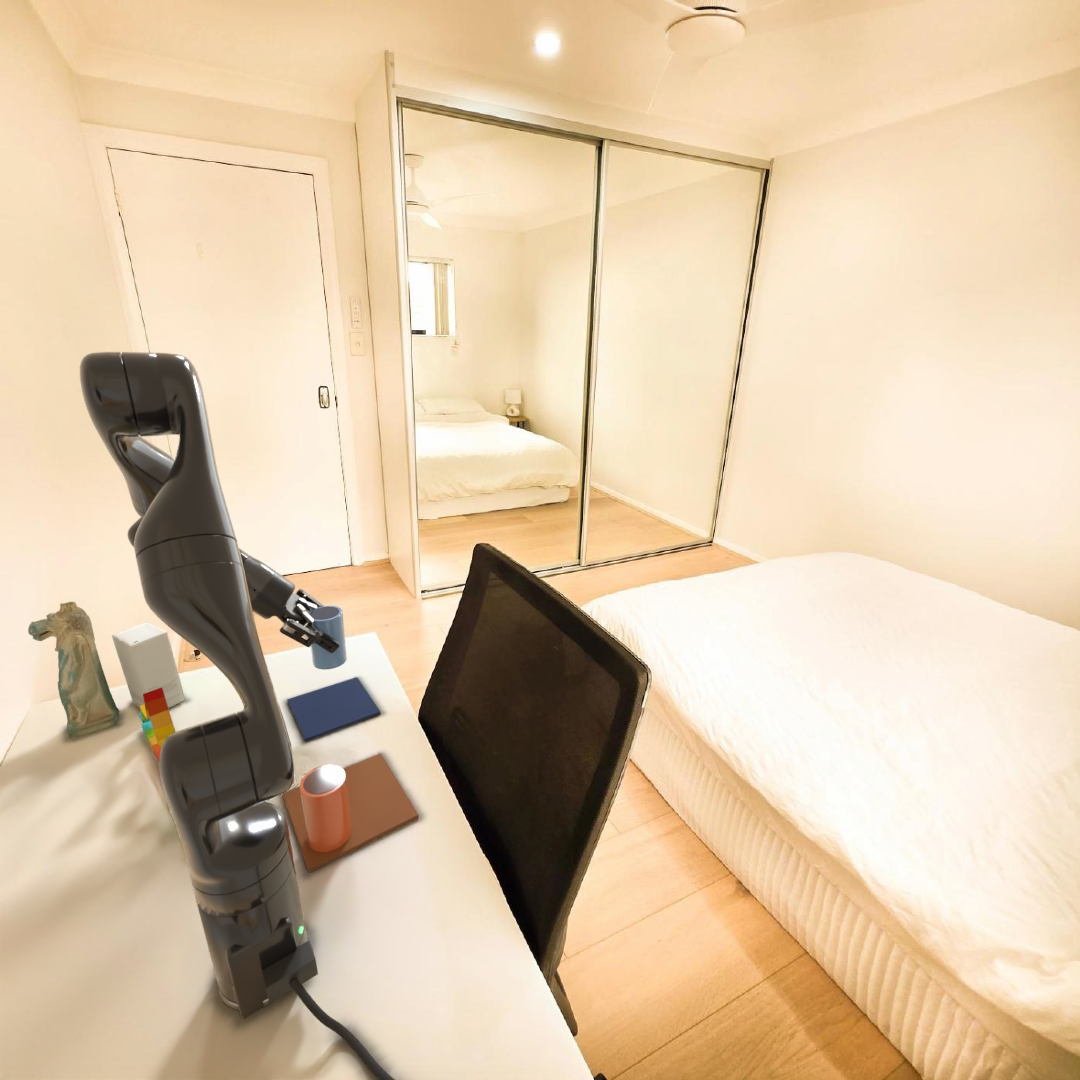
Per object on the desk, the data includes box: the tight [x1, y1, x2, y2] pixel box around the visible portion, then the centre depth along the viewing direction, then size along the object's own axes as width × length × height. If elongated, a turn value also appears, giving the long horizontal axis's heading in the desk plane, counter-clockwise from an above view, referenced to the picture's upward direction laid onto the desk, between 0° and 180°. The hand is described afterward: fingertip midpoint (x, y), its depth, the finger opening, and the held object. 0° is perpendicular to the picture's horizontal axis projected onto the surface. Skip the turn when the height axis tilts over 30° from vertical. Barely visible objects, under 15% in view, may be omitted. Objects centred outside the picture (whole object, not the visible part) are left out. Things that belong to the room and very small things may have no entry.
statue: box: [27, 601, 120, 740], centre depth 94 cm, size 7×8×25 cm
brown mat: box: [282, 752, 420, 873], centre depth 82 cm, size 16×16×1 cm
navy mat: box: [286, 676, 382, 742], centre depth 105 cm, size 14×14×1 cm
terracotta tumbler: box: [299, 764, 352, 852], centre depth 75 cm, size 6×6×10 cm
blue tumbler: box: [310, 605, 348, 671], centre depth 98 cm, size 6×6×10 cm
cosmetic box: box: [111, 621, 186, 709], centre depth 102 cm, size 8×7×16 cm
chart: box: [138, 687, 176, 763], centre depth 86 cm, size 30×3×15 cm, turn 47°
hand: (337, 639), depth 98 cm, fingers closed on blue tumbler, 6 cm apart
